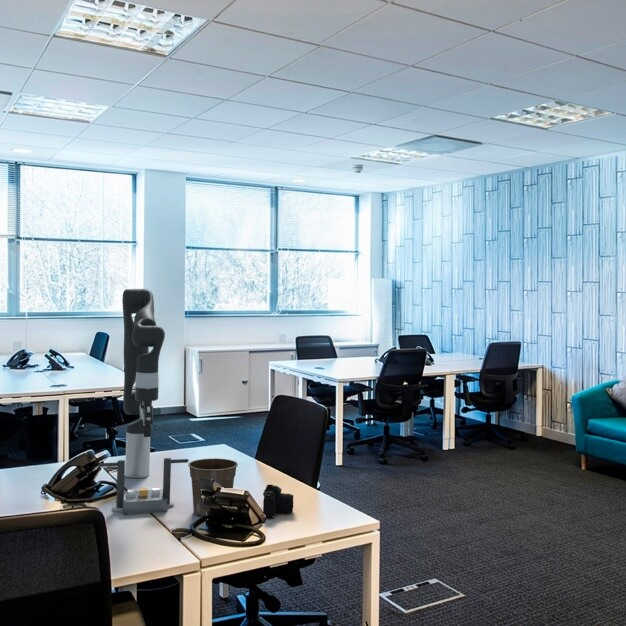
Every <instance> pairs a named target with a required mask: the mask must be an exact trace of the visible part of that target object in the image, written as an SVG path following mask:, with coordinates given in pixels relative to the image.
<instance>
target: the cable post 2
mask: <svg viewBox="0 0 626 626" xmlns="http://www.w3.org/2000/svg"><path fill="white" fill-rule="evenodd" d="M182 463H183V464H184V463H185V464H187V463H189V459H188V458H180V459H178V458H177V459H172V458H171V457H165V458H163V470H162V471H163V475H162V477H163V478H162V489H163V495H166V497H167V509H171V508H173V507H174V506H175V504H174V502H172V501H171V477H172V476H171V474H172V473H171V471H172V464H182Z"/></svg>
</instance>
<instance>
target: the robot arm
mask: <svg viewBox="0 0 626 626" xmlns="http://www.w3.org/2000/svg"><path fill="white" fill-rule="evenodd" d="M121 301H122V303H121V304H122V315H123V317H122V318H123V371H124V372H123V373H124V379H123V380H124V381H123V400H122V401H123V403H122V405H123V409H122V410H123V412H124V413H125V414H126V415H136V416H137V415H139V419H138V420H136V421H133V422H129V423H128V424H127V425H126V431H125V434H126V435H125V477H127V478H129V479H130V478H131V479H141V478H142V479H143V478H146V477H149V476H150V467H151V466H150V463H151V462H150V461H151V460H150V459H151V458H150V457H151V456H150V454H151V435H152V434H151V433H152V430H151V429H152V426H153V416H154V415H153V414H154V413H153V410H154V405H153V402H155V401H157V400H158V399H159V386H160V385H159V382H160V381H159V379H160V378H159V360H160V358H159V357H160V355H161V354H160V353H161V350H162V347H163V344H164V340H165V337H166V333H165V330H164V328H163V327H162V326H159V325H157V323H156V319H155V301H154V294H153V291H152V290H150V289H148V288H129V289H128V288H127V289H125V290H124V291H123V293H122V300H121ZM134 314H135V315H134ZM132 315H134V318H133V316H132ZM149 348H152V349H151V351H150V350H149ZM134 385H135V386H134ZM133 388H134V390H133Z"/></svg>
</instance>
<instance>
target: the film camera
mask: <svg viewBox="0 0 626 626" xmlns="http://www.w3.org/2000/svg"><path fill="white" fill-rule="evenodd" d="M265 487H266V488H264V491H263V493H262V496H263V503H262V505H263V507H262V514H263V513H264V514H265V515H266V518H267V519H266V520H272V518H273V519H274V517H275V516H276V514H275V513H278V514H284V513H285V514H290V513H293V511H294V494H291V493H284V492H282V488H281V487H280V486H278V485H273V484H266V486H265Z"/></svg>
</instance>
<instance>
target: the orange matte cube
mask: <svg viewBox="0 0 626 626" xmlns="http://www.w3.org/2000/svg"><path fill="white" fill-rule="evenodd" d="M139 491H140V497H143V496H148V488H143V487H142V488H139Z"/></svg>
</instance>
